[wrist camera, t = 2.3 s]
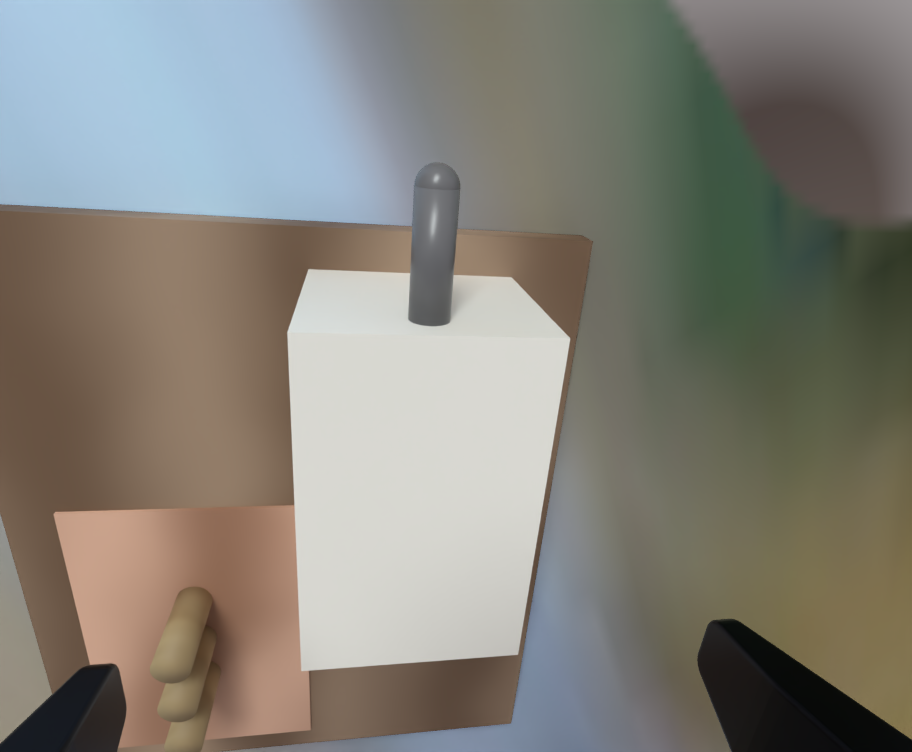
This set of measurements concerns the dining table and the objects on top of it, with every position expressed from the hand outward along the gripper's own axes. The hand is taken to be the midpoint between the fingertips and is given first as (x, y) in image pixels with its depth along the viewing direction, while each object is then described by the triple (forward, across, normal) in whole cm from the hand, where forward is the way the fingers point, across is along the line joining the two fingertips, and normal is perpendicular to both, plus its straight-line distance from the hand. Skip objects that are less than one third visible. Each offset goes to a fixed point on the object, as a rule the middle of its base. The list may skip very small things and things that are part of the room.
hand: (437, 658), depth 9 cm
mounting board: (+9, +3, +4) cm, 10 cm away
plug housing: (+8, 0, -1) cm, 8 cm away
